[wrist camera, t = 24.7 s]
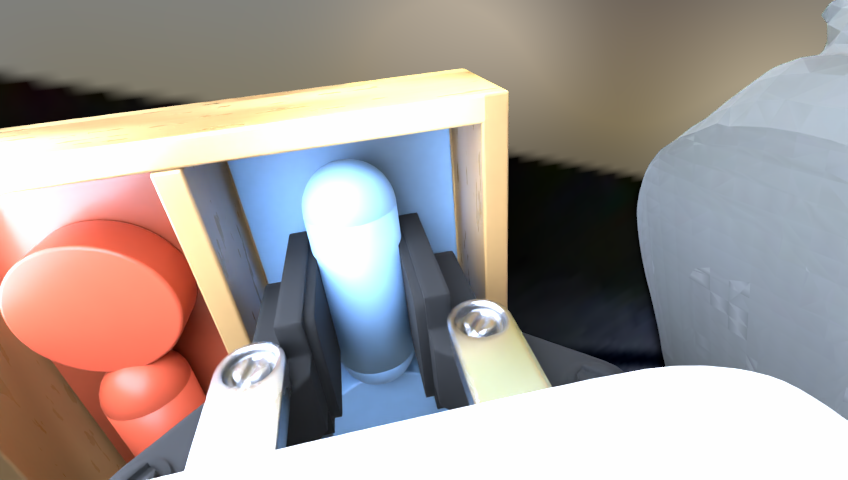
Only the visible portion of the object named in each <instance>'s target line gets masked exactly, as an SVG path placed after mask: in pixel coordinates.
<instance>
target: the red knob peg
mask: <svg viewBox="0 0 848 480" xmlns="http://www.w3.org/2000/svg"><path fill="white" fill-rule="evenodd" d="M196 297H197V284H196V279H195V277H194V275H193V272H192V270H191V268H190V266H189V263H188V262H187V260H186V259H185V257H184V256H183V255H182V254H181V253H180V252H179V251H178V250H177V249H176V248H175V247H174V246H173V245H172V244H170V243H169V242H168V241H166V240H165V239H163V238H162V237H160V236H159V235H157V234H155V233H153V232H151V231H149V230H146V229H144V228H142V227H139V226H135V225H132V224H128V223H124V222H119V221H109V220H93V221H83V222H79V223H74V224H71V225H68V226H65V227H62V228H60V229H58V230H57V231H55V232H53V233H52V234H50V235H49V236H48V237H46V238H45V239H44V240H43V241H41V242H40V243H39V244H38V245H37V246H35V247H34V248H33V249H32V250H31V251H29V252H28V253H27V254H26V255H25V256H23V257H22V258H21V259H20V260H19V261H17V262H16V263H15V264H14V265H13V266H12V267H11V268H10V269H9V270H8V272H7V273H6V275H5V277H4V278H3V281H2V284H1V286H0V310H1V314H2V316H3V318H4V320H5V322H6V324H7V326H8V327H9V329H10V330H11V331H12V332H13V334H14V335H15V336H16V337H17V338H18V339H19V340H20V341H21V342H22V343H24V344H25V345H26V346H27V347H29V348H30V349H31V350H33V351H34V352H36V353H38V354H39V355H41V356H43V357H45V358H47V359H49V360H51V361H53V362H56V363H59V364H62V365H64V366H68V367H71V368H75V369H80V370H85V371H93V372H106V373H105V375H104V377H103V379H102V381H101V384H100V390H99V400H100V406H101V408H102V410H103V412H104V414H105V415H106V417H107V418H108V420H109V421H110V422H111V424H112V425H113V427H114V428H115V430H116V431H117V432H118V434H119V435H120V437H121V438H122V439H123V441H124V442H125V444H126V445H127V446H128V448H129V449H130V451H131V452H132V453H133V455H134V456H135V457H136V456H137V455H139V454H140V453H141V452H142V451H144V450H145V449H146V448H148V447H149V446H150V445H151V444H153V443H154V442H155V441H156V440H158V439H159V438H160V437H161V436H163V435H164V434H165V433H166V432H168V431H169V430H170V429H171V428H173V427H174V426H175V425H177V424H178V423H179V422H180V421H182V420H183V419H184V418H185V417H187V416H188V415H189V414H190V413H192V412H193V411H194V410H195V409H197V408H198V407H199V406H200V405H202V404H203V403H204V402H205V401H206V396H205V394H204V392H203V390H202V388H201V386H200V384H199V382H198V380H197V378H196V376H195V374H194V372H193V370H192V368H191V367H190V365H189V363H188V362H187V360H186V359H185V358H184V357H183V356H182V355H181V354H179V353H178V352H176V351H174V350H172V348H173V347H174V346H175V344H176V343H177V342H178V340H179V338H180V336H181V334H182V332H183V330H184V327H185V325H186V323H187V321H188V319H189V316H190V314H191V312H192V310H193V307H194V305H195V302H196Z"/></svg>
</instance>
